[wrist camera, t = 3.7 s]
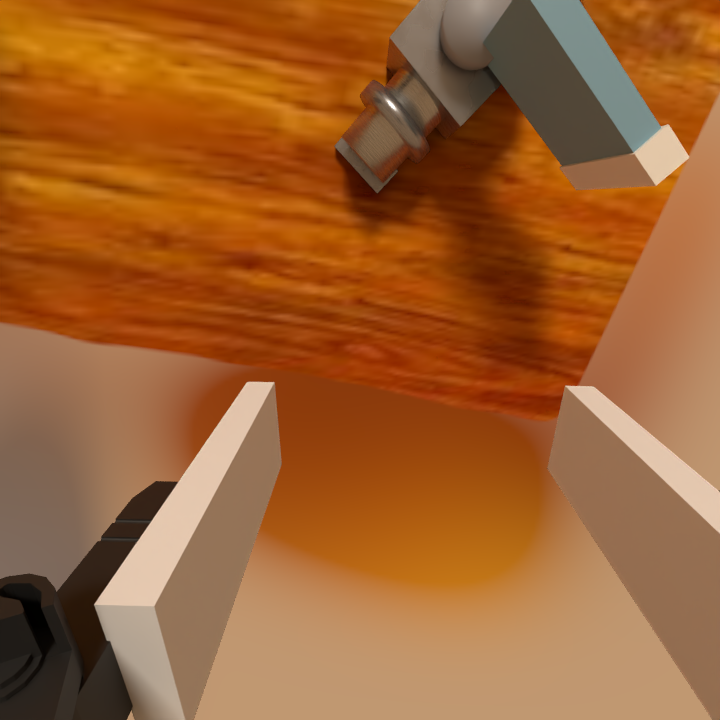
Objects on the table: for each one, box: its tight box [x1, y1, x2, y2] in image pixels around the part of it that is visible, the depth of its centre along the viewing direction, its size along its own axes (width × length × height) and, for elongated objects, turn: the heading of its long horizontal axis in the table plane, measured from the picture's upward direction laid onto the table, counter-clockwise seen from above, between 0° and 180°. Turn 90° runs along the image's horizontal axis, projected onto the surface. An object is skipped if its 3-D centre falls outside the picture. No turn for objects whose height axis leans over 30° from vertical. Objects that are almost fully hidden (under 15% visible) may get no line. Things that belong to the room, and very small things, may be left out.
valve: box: [335, 0, 501, 193], centre depth 28 cm, size 22×7×7 cm, turn 135°
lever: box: [440, 0, 689, 190], centre depth 22 cm, size 14×4×8 cm, turn 45°
